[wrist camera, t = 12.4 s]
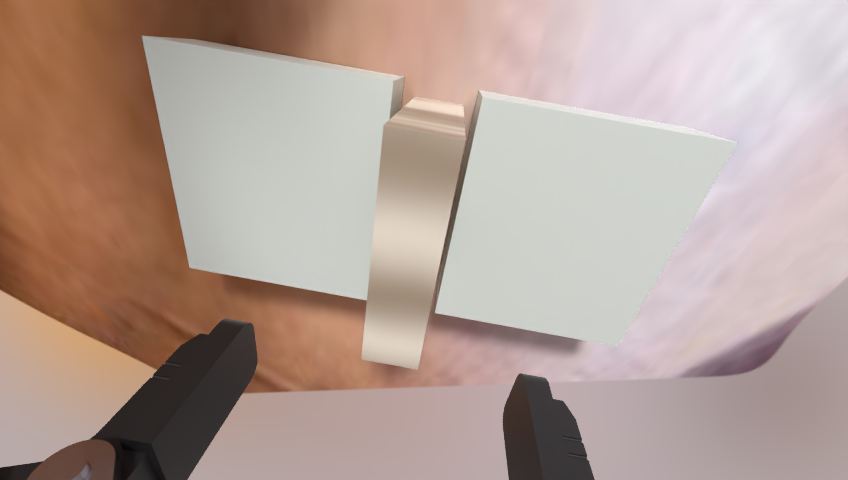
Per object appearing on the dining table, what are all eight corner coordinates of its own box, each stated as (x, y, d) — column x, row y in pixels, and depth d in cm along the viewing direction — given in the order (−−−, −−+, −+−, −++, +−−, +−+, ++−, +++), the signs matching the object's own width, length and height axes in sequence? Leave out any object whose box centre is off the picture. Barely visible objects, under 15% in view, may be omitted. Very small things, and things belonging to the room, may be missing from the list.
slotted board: (195, 39, 21) (141, 35, 17) (689, 127, 20) (737, 142, 17) (224, 240, 27) (189, 267, 24) (597, 308, 27) (617, 346, 24)
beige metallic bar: (415, 96, 21) (383, 125, 12) (463, 105, 21) (465, 139, 12) (393, 260, 27) (361, 359, 18) (431, 267, 27) (417, 369, 18)
